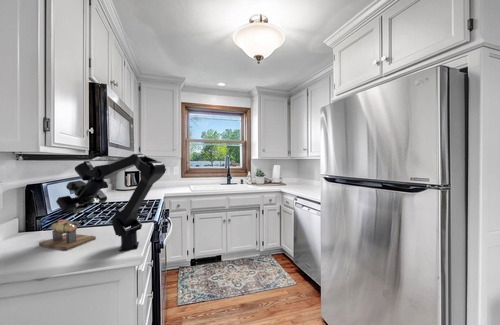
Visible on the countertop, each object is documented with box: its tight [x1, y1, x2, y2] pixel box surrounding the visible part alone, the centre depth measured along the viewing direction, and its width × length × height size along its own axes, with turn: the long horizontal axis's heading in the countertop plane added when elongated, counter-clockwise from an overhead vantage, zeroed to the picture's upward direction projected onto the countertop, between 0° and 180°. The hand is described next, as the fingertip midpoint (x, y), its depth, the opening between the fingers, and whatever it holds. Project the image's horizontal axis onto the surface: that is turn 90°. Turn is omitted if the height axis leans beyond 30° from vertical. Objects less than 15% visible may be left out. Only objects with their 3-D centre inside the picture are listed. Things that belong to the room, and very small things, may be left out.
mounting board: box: [38, 233, 96, 251], centre depth 98 cm, size 16×12×1 cm
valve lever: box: [57, 219, 80, 227], centre depth 102 cm, size 2×2×11 cm
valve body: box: [50, 222, 78, 244], centre depth 97 cm, size 11×6×8 cm, turn 73°
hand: (74, 212), depth 101 cm, fingers closed
